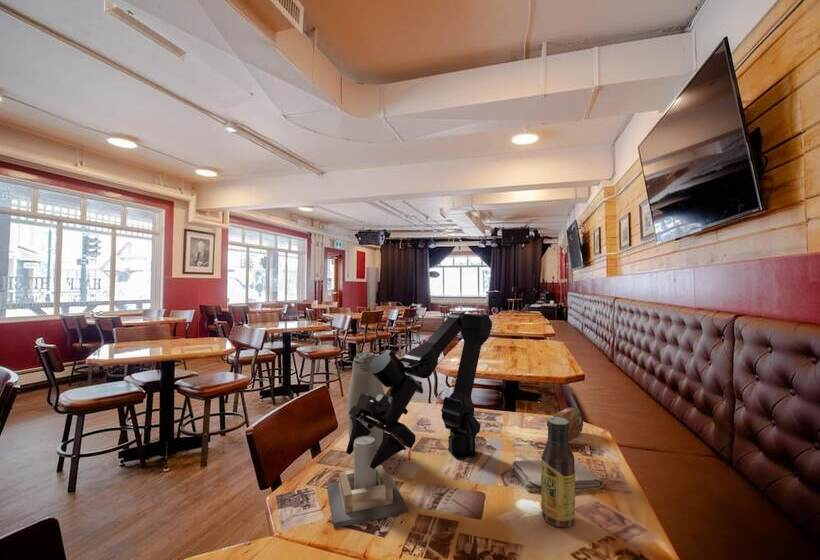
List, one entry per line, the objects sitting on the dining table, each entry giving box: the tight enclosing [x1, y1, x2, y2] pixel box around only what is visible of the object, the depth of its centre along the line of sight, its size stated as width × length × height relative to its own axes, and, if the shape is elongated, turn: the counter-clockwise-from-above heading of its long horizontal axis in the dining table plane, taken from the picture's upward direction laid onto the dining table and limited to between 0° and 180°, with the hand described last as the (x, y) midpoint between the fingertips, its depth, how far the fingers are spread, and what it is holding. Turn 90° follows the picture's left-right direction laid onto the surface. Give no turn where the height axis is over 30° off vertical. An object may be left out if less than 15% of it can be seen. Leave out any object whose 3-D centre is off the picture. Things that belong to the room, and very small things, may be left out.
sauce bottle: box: [540, 416, 576, 528], centre depth 74 cm, size 7×6×20 cm
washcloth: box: [511, 458, 605, 494], centre depth 90 cm, size 12×18×3 cm, turn 96°
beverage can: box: [353, 436, 377, 490], centre depth 82 cm, size 5×5×12 cm
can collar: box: [326, 464, 409, 529], centre depth 82 cm, size 15×15×4 cm
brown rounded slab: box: [552, 407, 584, 442], centre depth 113 cm, size 15×3×8 cm, turn 129°
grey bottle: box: [347, 351, 386, 452], centre depth 106 cm, size 10×10×28 cm
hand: (359, 460), depth 81 cm, fingers open, 9 cm apart
